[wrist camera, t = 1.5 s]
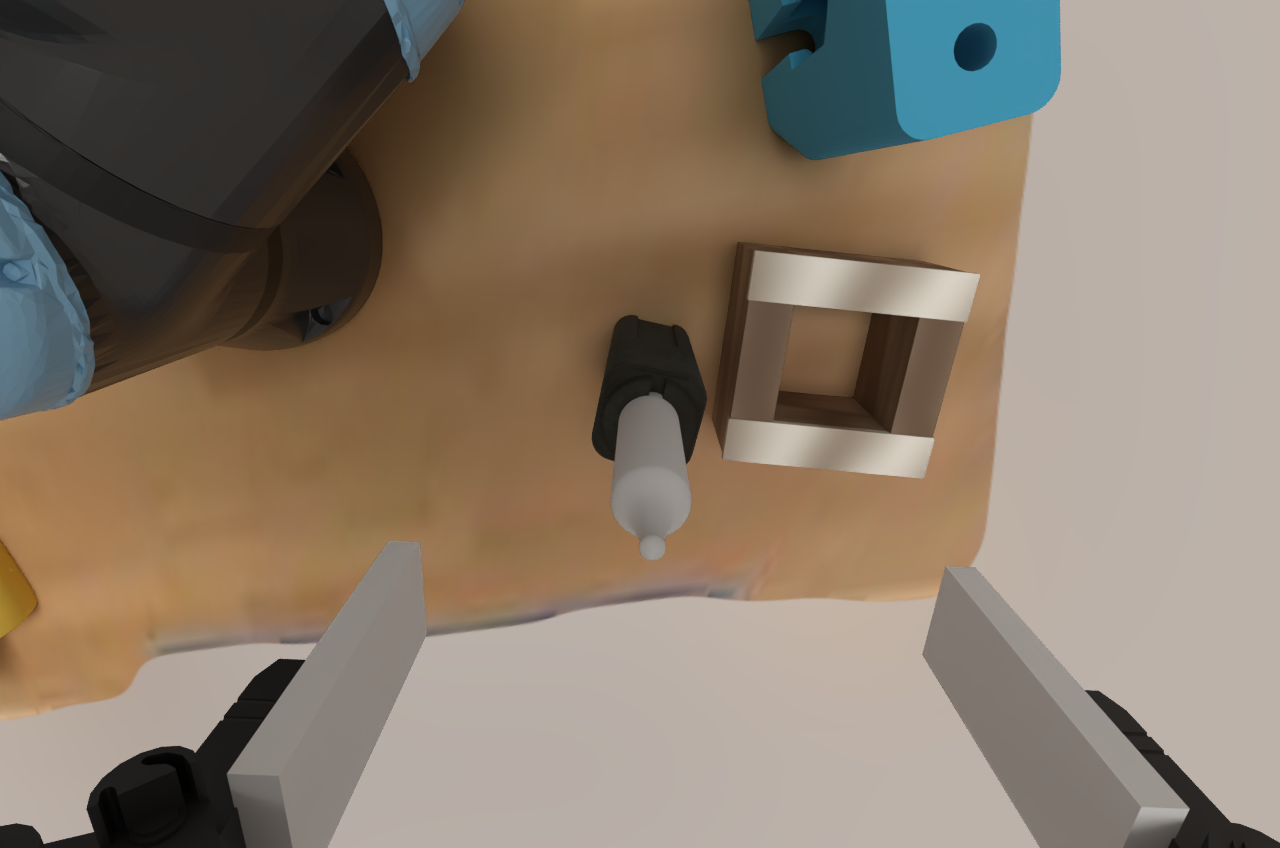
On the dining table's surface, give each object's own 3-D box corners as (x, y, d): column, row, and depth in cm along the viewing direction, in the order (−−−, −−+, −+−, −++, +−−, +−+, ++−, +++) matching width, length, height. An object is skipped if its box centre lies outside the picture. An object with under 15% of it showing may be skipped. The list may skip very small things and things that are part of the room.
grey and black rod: (692, 328, 42) (756, 498, 19) (674, 399, 44) (711, 636, 21) (618, 311, 42) (587, 462, 19) (602, 383, 44) (555, 606, 20)
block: (857, 147, 39) (1061, 105, 20) (775, 168, 39) (899, 147, 20) (830, -86, 35) (1053, -415, 16) (739, -60, 35) (851, -351, 16)
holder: (710, 419, 45) (722, 459, 38) (736, 241, 40) (755, 250, 34) (881, 436, 45) (923, 478, 38) (925, 260, 41) (980, 274, 34)
